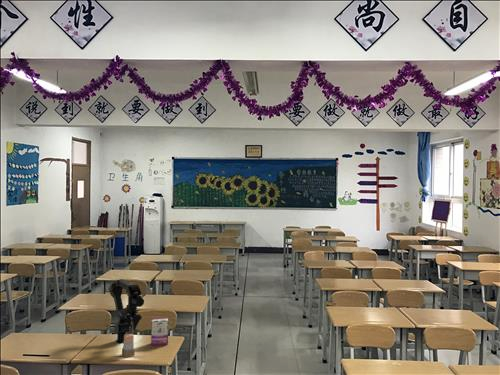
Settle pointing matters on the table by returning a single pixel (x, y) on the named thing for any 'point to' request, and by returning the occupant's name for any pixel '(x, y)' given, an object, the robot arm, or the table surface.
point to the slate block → (128, 346)
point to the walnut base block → (128, 353)
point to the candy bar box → (159, 332)
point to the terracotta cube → (128, 338)
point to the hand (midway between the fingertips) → (131, 327)
